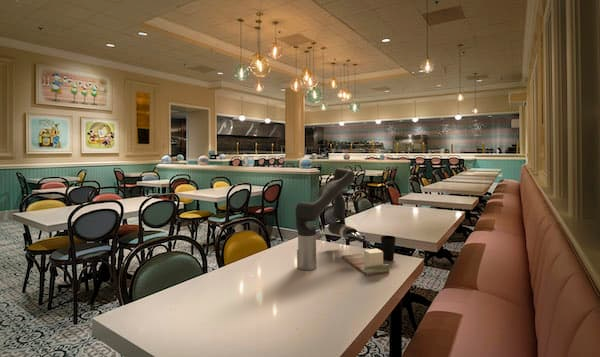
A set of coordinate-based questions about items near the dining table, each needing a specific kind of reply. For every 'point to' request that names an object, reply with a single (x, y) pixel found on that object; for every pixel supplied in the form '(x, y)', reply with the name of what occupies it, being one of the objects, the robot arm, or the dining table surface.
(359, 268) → the track
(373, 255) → the block
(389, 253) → the cup
